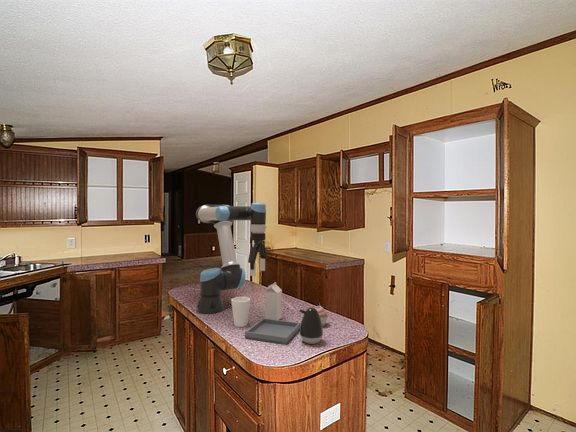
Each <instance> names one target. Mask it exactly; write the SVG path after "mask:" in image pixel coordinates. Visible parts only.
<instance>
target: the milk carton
mask: <svg viewBox="0 0 576 432" xmlns="http://www.w3.org/2000/svg"><path fill="white" fill-rule="evenodd" d="M282 300H283V290H282V288H280V287H279V286H278V285H277V282H274V283H271V284H270V285H268V286H267V289H266V291H265V292H264V318H265V319H273V320H281V319H282V316H283V313H282V311H283V309H282V308H283V304H282V303H283V301H282Z"/></svg>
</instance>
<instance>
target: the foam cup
mask: <svg viewBox="0 0 576 432" xmlns="http://www.w3.org/2000/svg"><path fill="white" fill-rule="evenodd" d="M230 302H231V309H232V317H233V323H234V327H236V328H245V327H247V325H248V322H249V312H250V305H251V298H249V297H247V296H236V297H233V298H231V301H230Z"/></svg>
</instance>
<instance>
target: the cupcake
mask: <svg viewBox="0 0 576 432" xmlns="http://www.w3.org/2000/svg"><path fill="white" fill-rule="evenodd" d="M314 308H315V309H316V310H317V311H318V313H319V316H320V318H321V322H322V327H325V326H326V323H327V319H328V318H329V315H328V314H327V311H326V310H325V309H324V307H322V306H321V305H317V306H316V307H314Z"/></svg>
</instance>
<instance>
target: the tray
mask: <svg viewBox="0 0 576 432" xmlns="http://www.w3.org/2000/svg"><path fill="white" fill-rule="evenodd" d="M300 326H301V322H295V321H288V320H287V321H286V320H281V319H279V320H273V319H265V317H264V318H261V319H260V320H258V321H257V322H256V323H255V324H254V325H252V326H251V327H249V329H248V328H247V330H246V331H244V339H247V340H252V341H253V340H254V341H259V342H265V343H273V344H278V345H284V346H285V345H286V346H288V344H289V343H290V342H291V340H293V338H294V337H295V336H296V335H297V334H298V332H300Z"/></svg>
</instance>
